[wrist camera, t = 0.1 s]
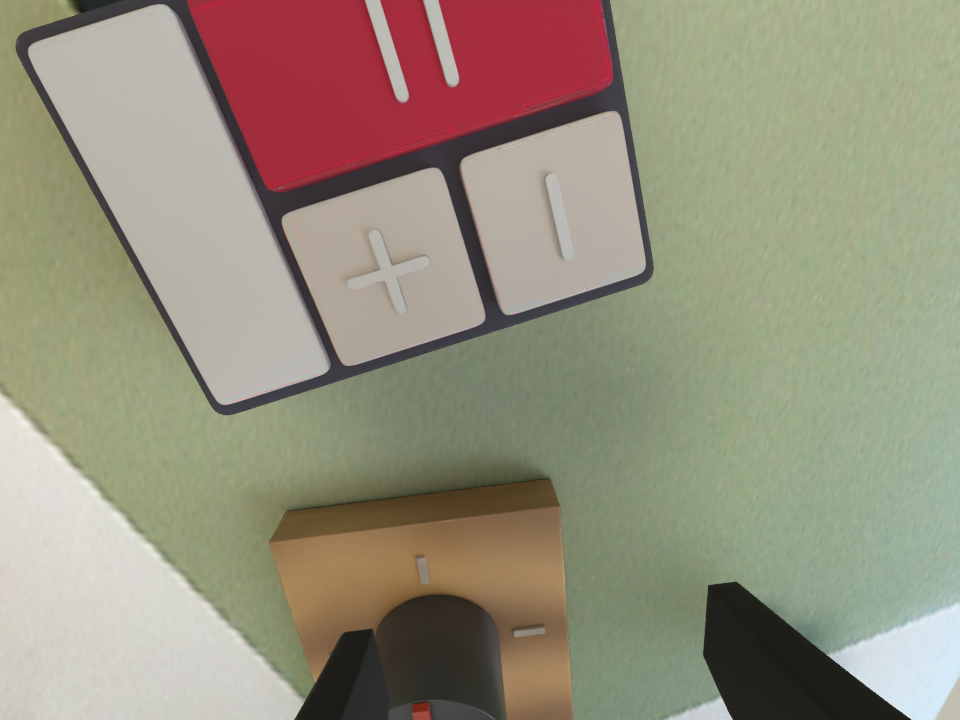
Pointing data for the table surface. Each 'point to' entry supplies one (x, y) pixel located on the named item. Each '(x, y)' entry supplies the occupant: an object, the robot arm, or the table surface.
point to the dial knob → (441, 661)
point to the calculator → (349, 172)
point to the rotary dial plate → (439, 576)
